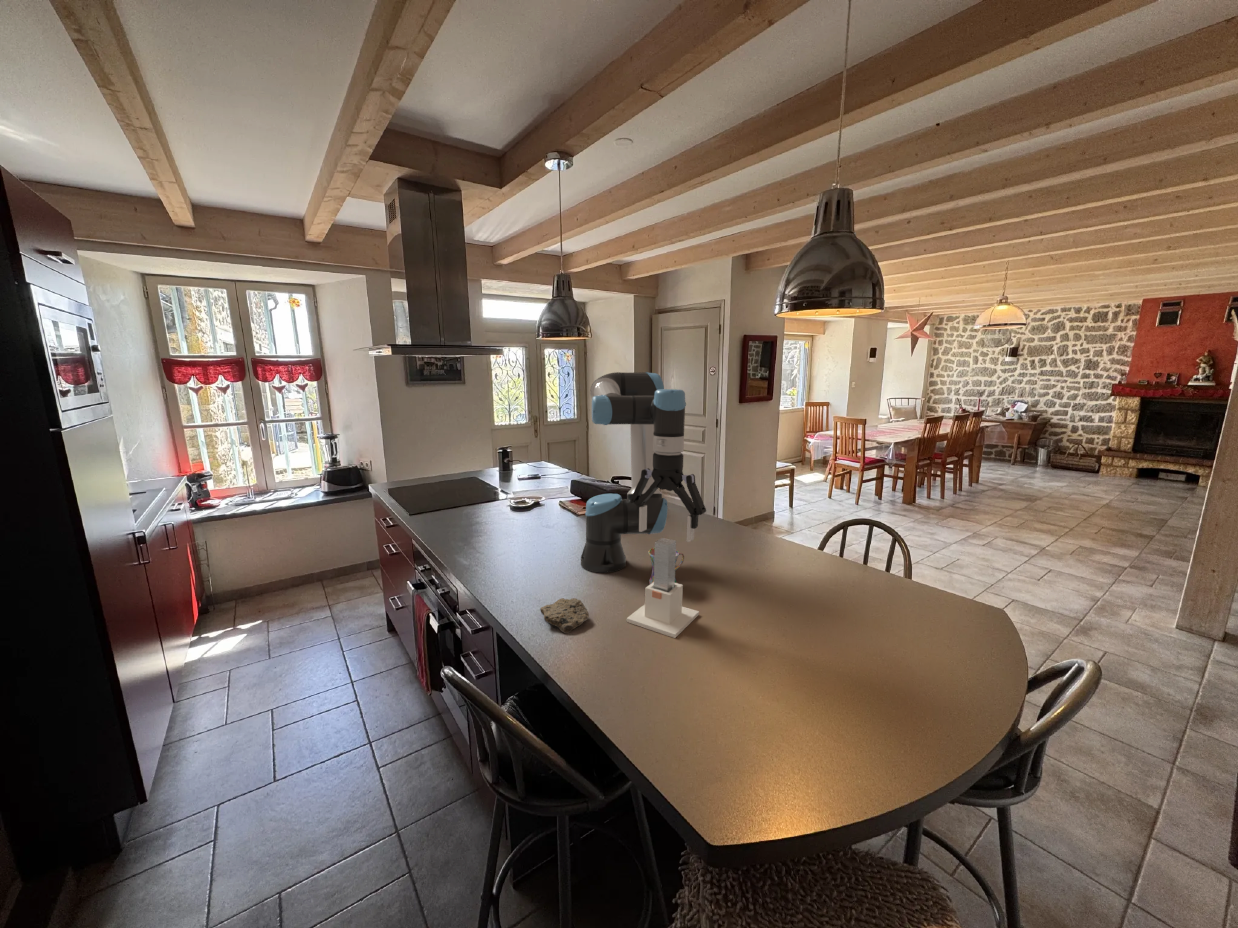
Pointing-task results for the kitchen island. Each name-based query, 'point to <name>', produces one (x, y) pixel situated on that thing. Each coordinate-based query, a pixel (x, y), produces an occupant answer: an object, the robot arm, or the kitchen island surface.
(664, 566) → the column
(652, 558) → the mug
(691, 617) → the stand
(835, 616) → the kitchen island surface
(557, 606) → the rock
